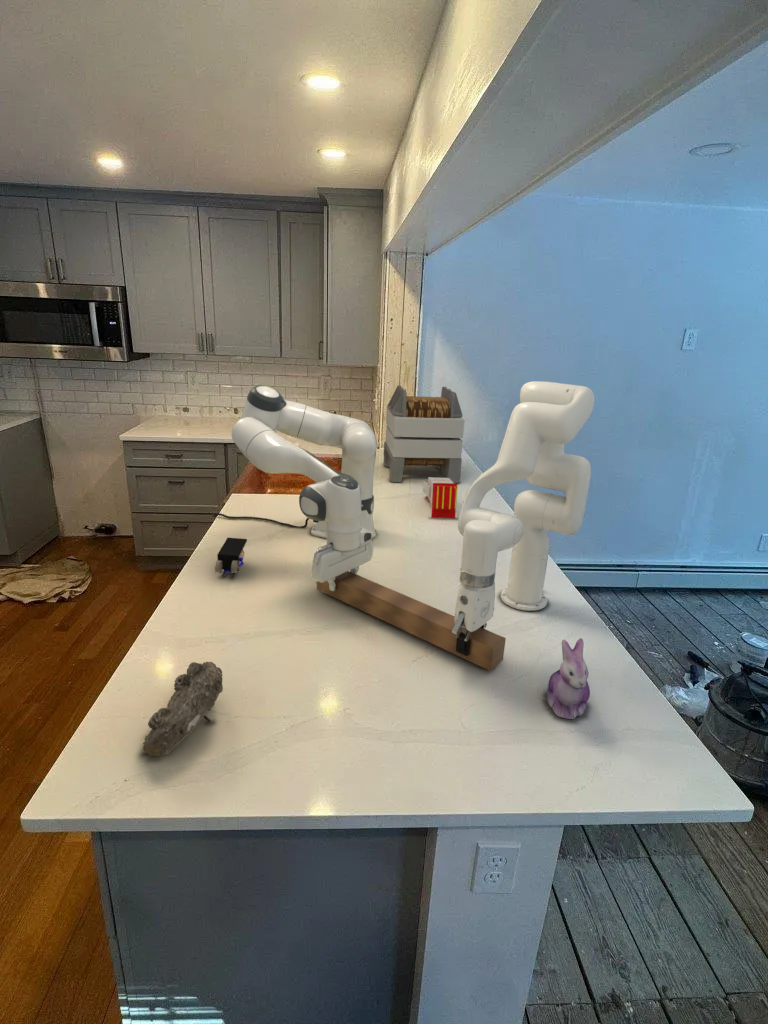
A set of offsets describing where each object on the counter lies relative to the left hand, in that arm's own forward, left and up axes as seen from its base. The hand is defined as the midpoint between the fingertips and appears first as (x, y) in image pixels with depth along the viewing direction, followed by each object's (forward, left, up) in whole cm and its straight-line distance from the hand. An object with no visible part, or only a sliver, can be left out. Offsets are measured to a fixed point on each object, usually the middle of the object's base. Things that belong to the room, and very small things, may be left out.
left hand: (342, 585), depth 153 cm
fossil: (-11, -55, -4) cm, 56 cm away
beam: (+18, -8, -3) cm, 20 cm away
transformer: (-8, +131, -4) cm, 131 cm away
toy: (+10, +85, -4) cm, 86 cm away
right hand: (+37, -16, -1) cm, 40 cm away
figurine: (+58, -27, -4) cm, 64 cm away
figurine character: (-36, +5, -4) cm, 37 cm away
